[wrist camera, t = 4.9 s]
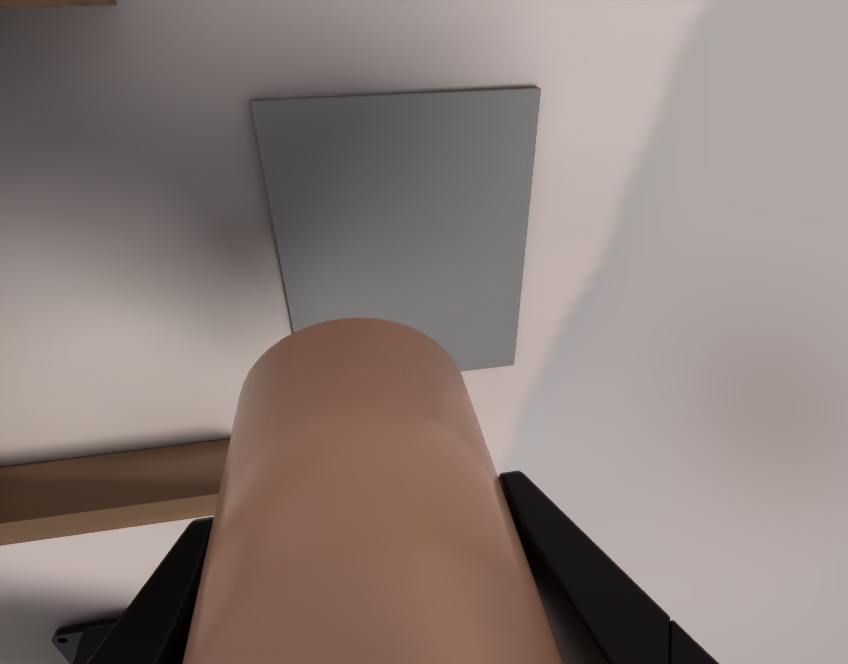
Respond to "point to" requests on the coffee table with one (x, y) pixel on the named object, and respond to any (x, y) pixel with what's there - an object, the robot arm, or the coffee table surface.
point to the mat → (405, 211)
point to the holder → (107, 471)
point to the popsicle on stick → (363, 515)
